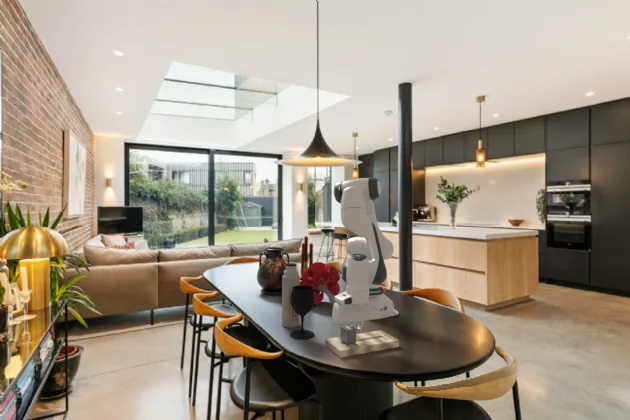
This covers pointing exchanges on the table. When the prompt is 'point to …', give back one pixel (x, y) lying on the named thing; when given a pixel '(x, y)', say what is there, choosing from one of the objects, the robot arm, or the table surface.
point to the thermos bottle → (288, 283)
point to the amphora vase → (272, 271)
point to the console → (362, 344)
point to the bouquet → (322, 281)
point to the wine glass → (302, 308)
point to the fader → (348, 334)
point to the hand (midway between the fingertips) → (356, 332)
